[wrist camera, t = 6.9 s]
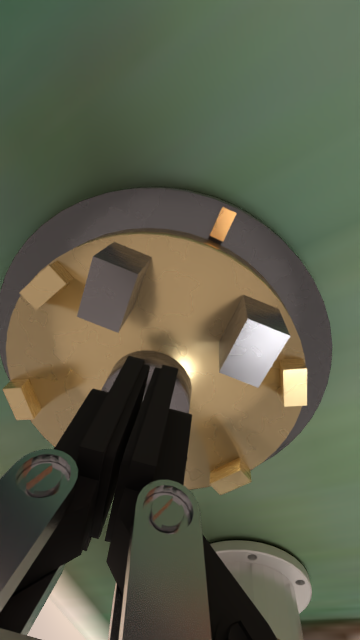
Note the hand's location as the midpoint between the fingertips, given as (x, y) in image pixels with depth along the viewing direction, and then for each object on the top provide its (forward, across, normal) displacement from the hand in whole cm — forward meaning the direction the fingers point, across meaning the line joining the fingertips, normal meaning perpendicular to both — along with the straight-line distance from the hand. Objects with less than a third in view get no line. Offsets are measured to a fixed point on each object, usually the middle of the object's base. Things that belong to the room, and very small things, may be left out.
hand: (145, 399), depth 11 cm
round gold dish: (+10, 0, +5) cm, 11 cm away
